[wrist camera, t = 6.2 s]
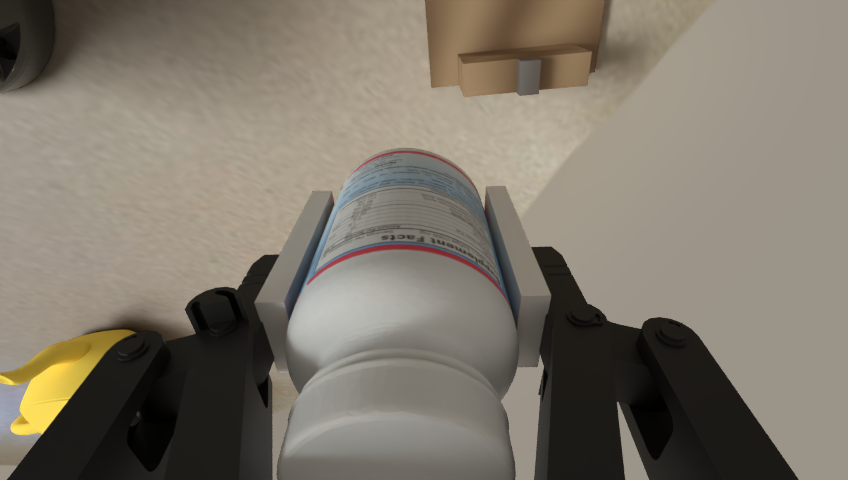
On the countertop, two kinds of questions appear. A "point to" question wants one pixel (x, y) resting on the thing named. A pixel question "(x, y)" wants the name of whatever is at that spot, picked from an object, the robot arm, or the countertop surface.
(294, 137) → the countertop surface
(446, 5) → the clip stand
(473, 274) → the pill bottle
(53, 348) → the teapot
